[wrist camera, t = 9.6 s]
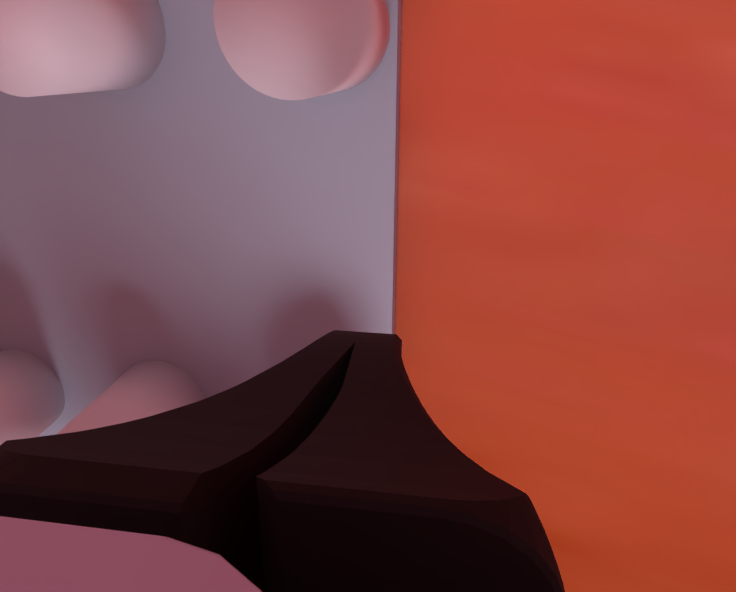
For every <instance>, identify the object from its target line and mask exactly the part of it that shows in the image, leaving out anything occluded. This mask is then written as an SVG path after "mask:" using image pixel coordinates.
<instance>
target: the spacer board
mask: <svg viewBox="0 0 736 592" xmlns="http://www.w3.org/2000/svg"><path fill="white" fill-rule="evenodd" d="M401 12H402V0H0V445H1V444H3V443H4V442H5V441H7V440H16V439H26V438H33V437H41V436H48V435H56V434H64V433H71V432H78V431H84V430H90V429H95V428H100V427H105V426H110V425H115V424H120V423H125V422H129V421H133V420H137V419H141V418H145V417H149V416H153V415H156V414H159V413H163V412H166V411H169V410H172V409H175V408H179V407H182V406H185V405H188V404H192V403H195V402H197V401H200V400H203V399H206V398H208V397H210V396H213V395H215V394H218V393H220V392H223V391H225V390H228V389H230V388H232V387H234V386H237V385H239V384H241V383H243V382H245V381H247V380H249V379H251V378H252V377H254V376H256V375H258V374H260V373H262V372H264V371H265V370H267V369H269V368H271V367H273V366H275V365H277V364H278V363H280V362H282V361H284V360H285V359H287V358H288V357H290V356H292V355H293V354H295V353H297V352H298V351H300V350H301V349H303V348H305V347H306V346H308V345H309V344H311V343H313V342H314V341H316V340H317V339H319V338H321V337H322V336H324V335H326V334H327V333H329V332H331V331H334V330H340V331H355V332H370V333H384V334H395V305H396V256H397V207H398V159H399V110H400V61H401Z"/></svg>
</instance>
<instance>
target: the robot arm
mask: <svg viewBox="0 0 736 592" xmlns="http://www.w3.org/2000/svg"><path fill="white" fill-rule="evenodd" d="M401 349H402V340H401V339H400V338H399V337H398V336H397V335H396V334H384V333H370V332H355V331H340V330H334V331H331V332H329V333H327V334H326V335H324V336H322V337H321V338H319V339H317V340H316V341H314V342H313V343H311V344H309V345H308V346H306V347H305V348H303V349H301V350H300V351H298V352H297V353H295V354H293V355H292V356H290V357H288V358H287V359H285V360H284V361H282V362H280V363H278V364H277V365H275V366H273V367H271V368H269V369H267V370H265V371H264V372H262V373H260V374H258V375H256V376H254V377H252V378H251V379H249V380H247V381H245V382H243V383H241V384H239V385H237V386H234V387H232V388H230V389H228V390H225V391H223V392H220V393H218V394H215V395H213V396H210V397H208V398H206V399H203V400H200V401H197V402H195V403H192V404H188V405H185V406H182V407H179V408H175V409H172V410H169V411H166V412H163V413H159V414H156V415H153V416H149V417H145V418H141V419H137V420H133V421H129V422H125V423H120V424H115V425H110V426H105V427H100V428H95V429H90V430H84V431H78V432H71V433H64V434H56V435H48V436H41V437H33V438H26V439H16V440H7V441H5V442H4V443H3V444H1V445H0V592H565V591H564V586H563V582H562V579H561V575H560V572H559V569H558V566H557V563H556V560H555V557H554V554H553V551H552V548H551V546H550V543H549V540H548V538H547V535H546V533H545V530H544V528H543V526H542V523H541V521H540V519H539V517H538V515H537V512H536V510H535V508H534V506H533V504H532V502H531V500H530V498H529V497H528V495H527V494H526V493H524V492H522V491H520V490H519V489H517V488H515V487H513V486H512V485H510V484H508V483H506V482H505V481H503V480H501V479H499V478H498V477H496V476H494V475H492V474H490V473H489V472H487V471H486V470H484V469H483V468H482V467H480V466H479V465H478V464H476V463H475V462H474V461H472V460H471V459H470V458H468V457H467V456H466V455H464V454H463V453H462V452H461V451H460V450H459V449H458V448H457V447H456V446H455V445H453V444H452V443H451V442H450V441H449V440H448V439H447V438H446V437H445V435H444V434H443V433H442V432H441V431H440V430H439V428H438V427H437V426H436V425H435V423H434V422H433V420H432V419H431V418H430V416H429V415H428V414H427V412H426V410H425V409H424V407H423V406H422V404H421V402H420V401H419V399H418V397H417V395H416V393H415V391H414V389H413V387H412V385H411V383H410V381H409V378H408V375H407V373H406V370H405V368H404V365H403V361H402V357H401Z"/></svg>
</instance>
